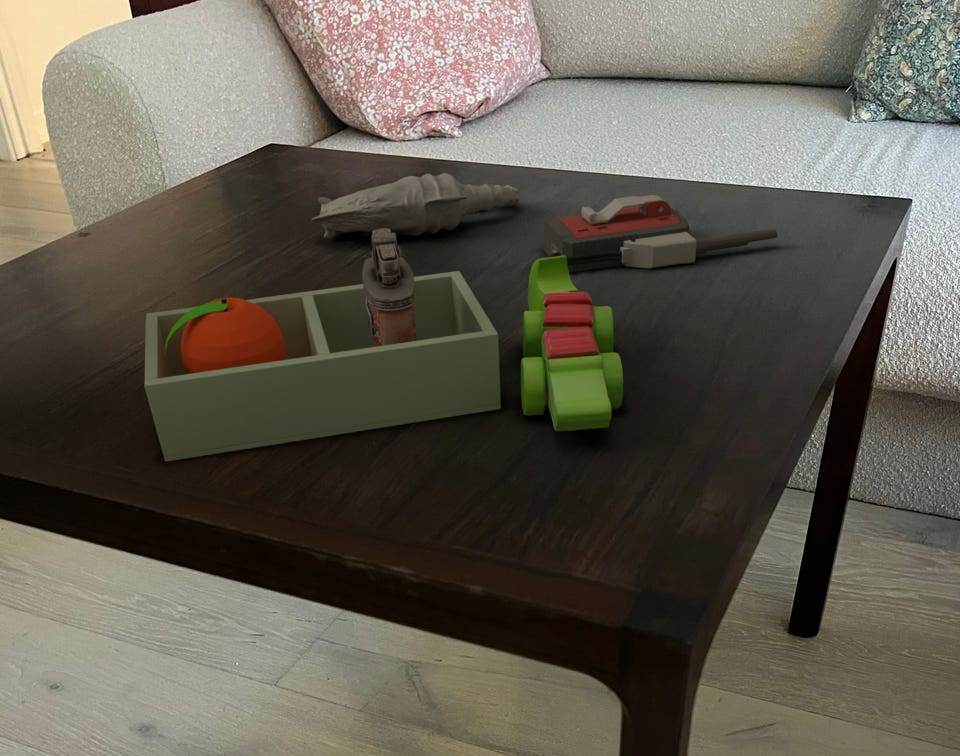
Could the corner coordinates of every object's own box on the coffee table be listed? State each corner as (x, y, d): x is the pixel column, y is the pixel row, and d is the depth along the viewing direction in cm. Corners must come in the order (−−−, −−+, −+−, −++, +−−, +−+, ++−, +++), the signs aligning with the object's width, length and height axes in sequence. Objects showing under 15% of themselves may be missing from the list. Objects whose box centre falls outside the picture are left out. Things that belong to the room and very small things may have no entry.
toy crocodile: (628, 455, 66) (633, 365, 62) (522, 459, 66) (520, 369, 62) (605, 325, 81) (607, 246, 77) (519, 329, 81) (516, 250, 77)
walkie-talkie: (559, 288, 87) (780, 254, 91) (559, 234, 84) (787, 201, 88) (528, 252, 94) (735, 222, 97) (527, 201, 91) (741, 172, 94)
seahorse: (471, 179, 107) (294, 193, 97) (540, 160, 98) (351, 173, 88) (478, 233, 109) (304, 251, 99) (546, 219, 100) (361, 238, 90)
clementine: (194, 437, 69) (168, 334, 64) (167, 396, 74) (141, 297, 69) (308, 406, 72) (291, 304, 67) (275, 367, 76) (256, 271, 72)
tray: (501, 412, 71) (498, 333, 68) (166, 465, 68) (144, 385, 64) (463, 343, 80) (459, 270, 76) (165, 387, 77) (145, 313, 73)
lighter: (370, 358, 77) (353, 219, 71) (415, 353, 78) (402, 214, 71) (380, 409, 71) (362, 262, 65) (430, 402, 71) (417, 255, 65)
